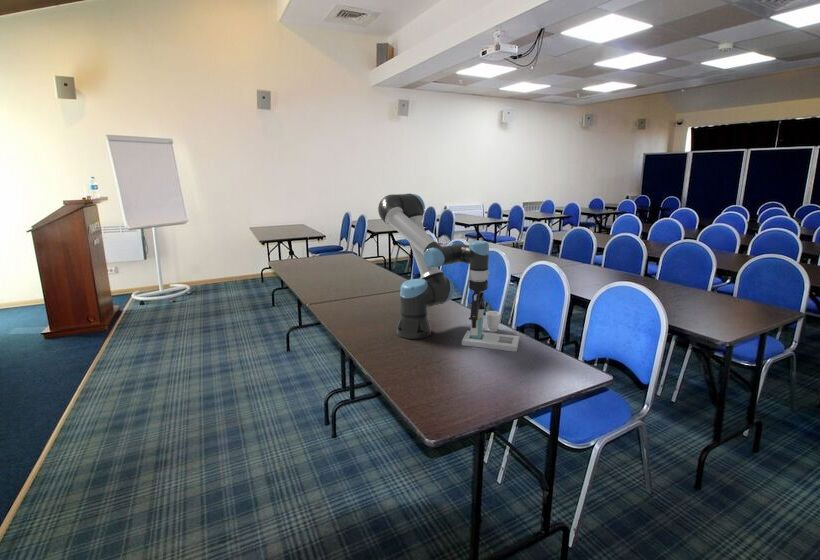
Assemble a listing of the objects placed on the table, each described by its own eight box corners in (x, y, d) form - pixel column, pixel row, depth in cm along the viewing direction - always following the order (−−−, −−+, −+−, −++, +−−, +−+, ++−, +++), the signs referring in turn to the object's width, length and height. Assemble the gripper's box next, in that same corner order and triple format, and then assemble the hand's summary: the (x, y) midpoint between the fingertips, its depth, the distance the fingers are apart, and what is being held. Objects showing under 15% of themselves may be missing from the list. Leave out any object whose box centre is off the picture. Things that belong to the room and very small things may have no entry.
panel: (461, 344, 172) (461, 340, 171) (467, 334, 183) (467, 330, 182) (516, 351, 165) (516, 346, 164) (519, 340, 176) (519, 336, 175)
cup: (503, 331, 186) (504, 314, 184) (482, 334, 183) (483, 316, 181) (495, 326, 193) (496, 309, 191) (475, 329, 190) (476, 312, 188)
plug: (470, 342, 175) (471, 315, 172) (472, 338, 178) (473, 313, 175) (480, 343, 173) (481, 316, 171) (481, 340, 177) (482, 313, 174)
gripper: (482, 287, 157) (481, 340, 162) (492, 273, 180) (490, 320, 185) (463, 286, 159) (461, 338, 164) (474, 272, 182) (473, 319, 187)
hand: (476, 329), depth 174 cm, fingers open, 13 cm apart
